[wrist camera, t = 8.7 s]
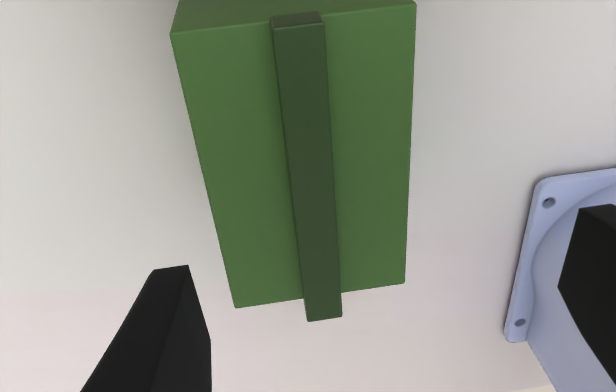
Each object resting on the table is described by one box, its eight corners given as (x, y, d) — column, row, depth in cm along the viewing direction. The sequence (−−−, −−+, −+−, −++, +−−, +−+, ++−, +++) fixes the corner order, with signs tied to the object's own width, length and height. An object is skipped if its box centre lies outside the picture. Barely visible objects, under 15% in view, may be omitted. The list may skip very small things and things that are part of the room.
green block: (366, 187, 19) (413, 306, 14) (233, 205, 19) (235, 333, 14) (363, -51, 15) (430, 9, 10) (185, -31, 14) (162, 41, 9)
